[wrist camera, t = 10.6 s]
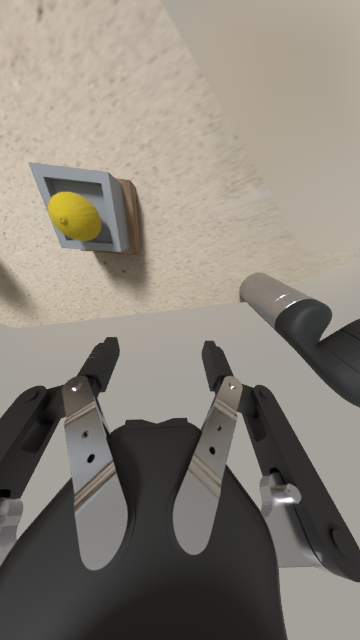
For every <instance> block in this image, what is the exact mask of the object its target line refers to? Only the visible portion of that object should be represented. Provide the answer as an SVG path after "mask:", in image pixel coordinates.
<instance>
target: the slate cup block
mask: <svg viewBox="0 0 360 640" xmlns="http://www.w3.org/2000/svg"><path fill="white" fill-rule="evenodd" d="M28 163H29V165H30V168H31V170H32V173H33V176H34V178H35V181H36V183H37V186H38V188H39V191H40V193H41V196H42V199H43V201H44V204H45V206H46V209H47V211H48V203H49V200H50V199H51V197H52V196H53V195H55V194H57V193H60V192H72V193H76V194H78V195H80V196H82V197H84V198H86V199H87V200H88V201H89V202H90V203H91V204H92V205H93V206H94V207H95V208H96V210H97V212H98V213H99V216H100V218H101V231H100V233H99V235H98V236H97V237H96V238H94V239H92V240H88V241H79V240H75V239H72V238H70V237H68V236H66V235H64V234H63V233H62V232H61V231H59V230H58V229H57V227H56V226H55V225H54V224H53V222H52V220H51V222H52V224H53V227H54V229H55V232H56V234H57V237H58V240H59V242H60V245H61V247H62V248H70V249H85V250H100V251H114V252H122V251H124V250H126V249H127V248H129V247H130V246H129V238H128V230H127V223H126V215H125V207H124V199H123V192H122V184H121V183H120V182H119V181H118V180H116V179H115V178H114V177H113V176H112V175H111V174H110V173H108V172H103V171H95V170H87V169H79V168H71V167H63V166H54V165H46V164H38V163H30V162H28ZM48 214H49V212H48ZM50 219H51V218H50Z"/></svg>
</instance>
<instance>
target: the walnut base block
mask: <svg viewBox="0 0 360 640" xmlns="http://www.w3.org/2000/svg"><path fill="white" fill-rule="evenodd" d="M115 179H116V178H115ZM116 180H118V181H119V182H120V183H121V184H122V192H123V199H124V207H125V215H126V223H127V230H128V238H129V246H130V247H129V248H127V249H126V250H124V251H122V252H114V251H100V250H85V249H81V250H83V251H96V252H109V253H123V254H136V255H137V254H138V253H139V252H140V239H139V227H138V214H137V202H136V189H135V186H134V185H133V183H132V182H131V181H130V180H124V179H116Z"/></svg>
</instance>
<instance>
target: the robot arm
mask: <svg viewBox="0 0 360 640" xmlns="http://www.w3.org/2000/svg"><path fill="white" fill-rule="evenodd" d="M240 295H241V297H242V298H243V299H244V300H245V301H246V302H247V303H248V304H249V305H250V306H251V307H252V308H253V309H254V310H255V311H256V312H257V313H258V314H259V315H260V316H261V317H262V318H263V319H264V320H265V321H266V322H267V323H268V324H269V325H270V326H271V327H272V328H273V329H274V330H275V331H277V332H278V333H279V334H280V335H281V336H282V337H283V338H284V339H285V340H286V341H287V342H288V343H289V344H290V345H291V346H292V347H293V348H294V349H295V350H296V351H297V352H298V354H299V355H300V356H301V357H302V358H303V359H304V360H305V361H306V362H307V363H308V365H309V366H311V368H312V369H313V370H314V371H315V372H316V374H317V375H318V376H319V377H320V378H321V379H322V380H323V381H324V382H325V383H326V384H327V385H328V386H329V387H330V388H332V389H333V390H334V391H335V392H336V393H337V394H339V395H340V396H341V397H342V398H344V399H345V400H347V401H348V402H350V403H352V404H353V405H356V406H358V407H360V319H358V320H356V321H354V322H352V323H350V324H348V325H346V326H344V327H343V328H341V329H340V330H338V331H336V332H335V333H333V334H331V335H330V336H328V337H326V338H325V339H323V340H321V341H320V342H319V340H320V338H321V335H322V334H323V332H324V330H325V329H326V328H327V326H328V325H329V323H330V321H331V318H332V312H331V309H330V308H329V307H328V306H327V305H325V304H324V303H321V302H320V301H317V300H315V299H313V298H311V297H309V296H307V295H306V294H304V293H301V292H299V291H297V290H295V289H294V288H291V287H290V286H288V285H286V284H284V283H282V282H280V281H278V280H276V279H274V278H272V277H270V276H268V275H266V274H264V273H255V274H252V275H251V276H249V277H248V278H246V279H245V280H244V282H243V283H242V285H241V288H240ZM119 353H120V349H119V344H118V340H117V337H107V338H106V339H105V341H104V343H99V344H98V345H97V346H96V347H95V348H94V349H93V351H92V352H91V354H90V355H89V358H88V359H87V360H86V362H85V364H84V365H83V367H82V368H81V370H80V372H79V373H78V375H77V376H76V377H73V378H72V379H70V380H68V381H67V382H66V383H65V384H64V385H61V386H57V387H54V388H50V389H46V388H45V387H44V386H35V387H32V388H30V389H28V390H26V391H25V392H23V393H22V394H21V395H20V396H19V397H18V398H17V399H16V400H15V401H14V403H13V404H12V405H11V406H10V407H9V408H8V410H7V411H6V412H5V414H4V415H3V416H2V417H1V418H0V640H288V639H287V634H286V629H285V624H284V618H283V611H282V605H281V596H280V584H279V569H278V568H285V567H311V566H313V567H316V568H319V569H322V570H324V571H327V572H330V573H333V574H336V575H338V576H341V577H344V578H346V579H349V580H352V581H355V582H360V550H359V547H358V545H357V543H356V542H355V540H354V538H353V536H352V534H351V533H350V531H349V529H348V527H347V525H346V524H345V522H344V520H343V518H342V516H341V515H340V513H339V511H338V509H337V508H336V506H335V504H334V502H333V500H332V499H331V497H330V495H329V494H328V492H327V490H326V488H325V486H324V484H323V483H322V481H321V479H320V477H319V475H318V474H317V472H316V470H315V468H314V467H313V465H312V463H311V461H310V459H309V458H308V456H307V454H306V452H305V451H304V449H303V447H302V445H301V443H300V442H299V440H298V438H297V436H296V434H295V433H294V431H293V429H292V427H291V425H290V424H289V422H288V420H287V418H286V417H285V415H284V413H283V411H282V410H281V408H280V406H279V404H278V402H277V400H276V399H275V397H274V395H273V394H272V392H271V391H270V390H269V389H268V388H266V387H265V386H262V385H256V386H255V387H254V388H252V387H249V386H247V385H243V384H241V382H240V381H239V380H238V379H237V378H235V377H234V376H233V373H232V371H231V369H230V366H229V364H228V362H227V359H226V357H225V355H224V352H223V350H222V349H221V348H220V347H217V346H216V345H215V343H214V341H205V343H204V347H203V350H202V360H203V364H204V368H205V371H206V376H207V380H208V384H209V388H210V391H215V398H214V400H213V402H212V405H211V407H210V409H209V411H208V414H207V416H206V418H205V421H204V423H203V425H202V427H201V430H200V429H199V428H197V427H196V426H195V425H193V424H191V423H189V422H187V418H172V419H170V420H167V421H164V422H161V423H158V424H156V423H152V422H149V421H145V420H126V422H125V425H123V426H121V427H119V428H117V429H115V430H114V431H113V432H111V433H110V430H109V428H108V425H107V423H106V421H105V418H104V415H103V412H102V410H101V407H100V404H99V401H98V398H97V397H98V395H99V393H100V392H105V390H106V388H107V385H108V383H109V380H110V378H111V375H112V372H113V370H114V367H115V365H116V362H117V360H118V357H119ZM236 412H240V413H242V415H243V418H244V421H245V424H246V427H247V430H248V433H249V436H250V439H251V442H252V445H253V448H254V451H255V454H256V457H257V460H258V463H259V466H260V469H261V472H262V475H263V477H262V478H261V480H260V493H261V498H262V509H261V512H260V510H259V508H258V507H257V506H256V504H255V503H254V501H253V500H252V499H251V497H250V496H249V495H248V493H247V492H246V490H245V489H244V488H243V487H242V485H241V484H240V482H239V481H238V480H237V478H236V477H235V476H234V474H233V473H232V471H231V470H230V469H229V467H228V466H227V465H226V462H227V457H228V454H229V450H230V445H231V442H232V438H233V433H234V429H235V426H236V422H237V415H236ZM63 417H66V418H67V419H66V421H65V422H64V429H65V435H66V442H67V448H68V454H69V461H70V468H71V474H72V477H71V478H70V480H69V481H68V482H67V483H66V484H65V485H64V486H63V488H62V489H61V490H60V491H59V492H58V493H57V494H56V496H55V497H54V498H53V499H52V500H51V501H50V503H49V504H48V505H47V506H46V507H45V508H44V510H43V511H42V512H41V513H40V514H39V515H38V516H37V518H36V519H35V520H34V521H33V522H32V523H31V524H30V526H29V527H28V528H27V529H26V530H25V532H24V533H23V534H22V535H21V536H20V538H19V539H18V540H17V539H16V532H17V527H18V524H19V522H20V518H21V516H22V512H23V503H22V501H21V500H20V498H21V496H22V494H23V492H24V490H25V488H26V486H27V484H28V482H29V480H30V478H31V476H32V474H33V472H34V470H35V468H36V466H37V464H38V462H39V460H40V458H41V456H42V454H43V452H44V450H45V448H46V447H47V445H48V443H49V441H50V439H51V437H52V435H53V433H54V431H55V429H56V427H57V425H58V423H59V421H60V419H61V418H63Z"/></svg>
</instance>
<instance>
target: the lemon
mask: <svg viewBox="0 0 360 640" xmlns="http://www.w3.org/2000/svg"><path fill="white" fill-rule="evenodd" d="M48 212H49V216H50V218H51V220H52V222H53V224H54V225H55V226H56V227H57V229H58V230H59V231H61V232H62V233H63V234H64V235H66V236H68V237H70V238H72V239H75V240H79V241H88V240H92V239H94V238H96V237H97V236H98V235H99V233H100V231H101V218H100V216H99V213H98V212H97V210H96V208H95V207H94V206H93V205H92V204H91V203H90V202H89V201H88V200H87V199H86V198H84V197H82V196H80V195H78V194H76V193H72V192H60V193H57V194H55V195H53V196H52V197H51V199H50V200H49V203H48Z"/></svg>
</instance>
